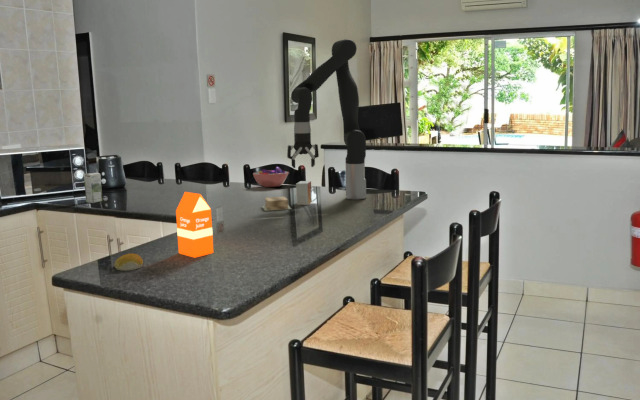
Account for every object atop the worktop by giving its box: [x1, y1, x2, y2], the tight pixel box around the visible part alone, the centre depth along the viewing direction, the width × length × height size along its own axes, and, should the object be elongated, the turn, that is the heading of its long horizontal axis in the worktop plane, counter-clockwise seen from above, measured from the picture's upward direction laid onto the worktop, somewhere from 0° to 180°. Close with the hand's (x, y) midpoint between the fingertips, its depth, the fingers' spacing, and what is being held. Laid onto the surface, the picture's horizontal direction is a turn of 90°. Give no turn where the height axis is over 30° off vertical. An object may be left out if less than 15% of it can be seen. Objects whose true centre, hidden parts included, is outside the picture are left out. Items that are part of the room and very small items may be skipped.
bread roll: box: [113, 253, 144, 271], centre depth 177 cm, size 8×9×4 cm
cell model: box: [252, 166, 290, 188], centre depth 327 cm, size 17×20×11 cm
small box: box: [295, 180, 313, 206], centre depth 272 cm, size 8×6×10 cm
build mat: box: [261, 204, 292, 212], centre depth 263 cm, size 12×10×1 cm
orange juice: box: [175, 191, 214, 259], centre depth 190 cm, size 8×9×20 cm
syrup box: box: [83, 172, 103, 204], centre depth 291 cm, size 6×6×14 cm
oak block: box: [264, 196, 289, 211], centre depth 263 cm, size 9×9×4 cm
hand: (303, 167), depth 270 cm, fingers open, 8 cm apart
